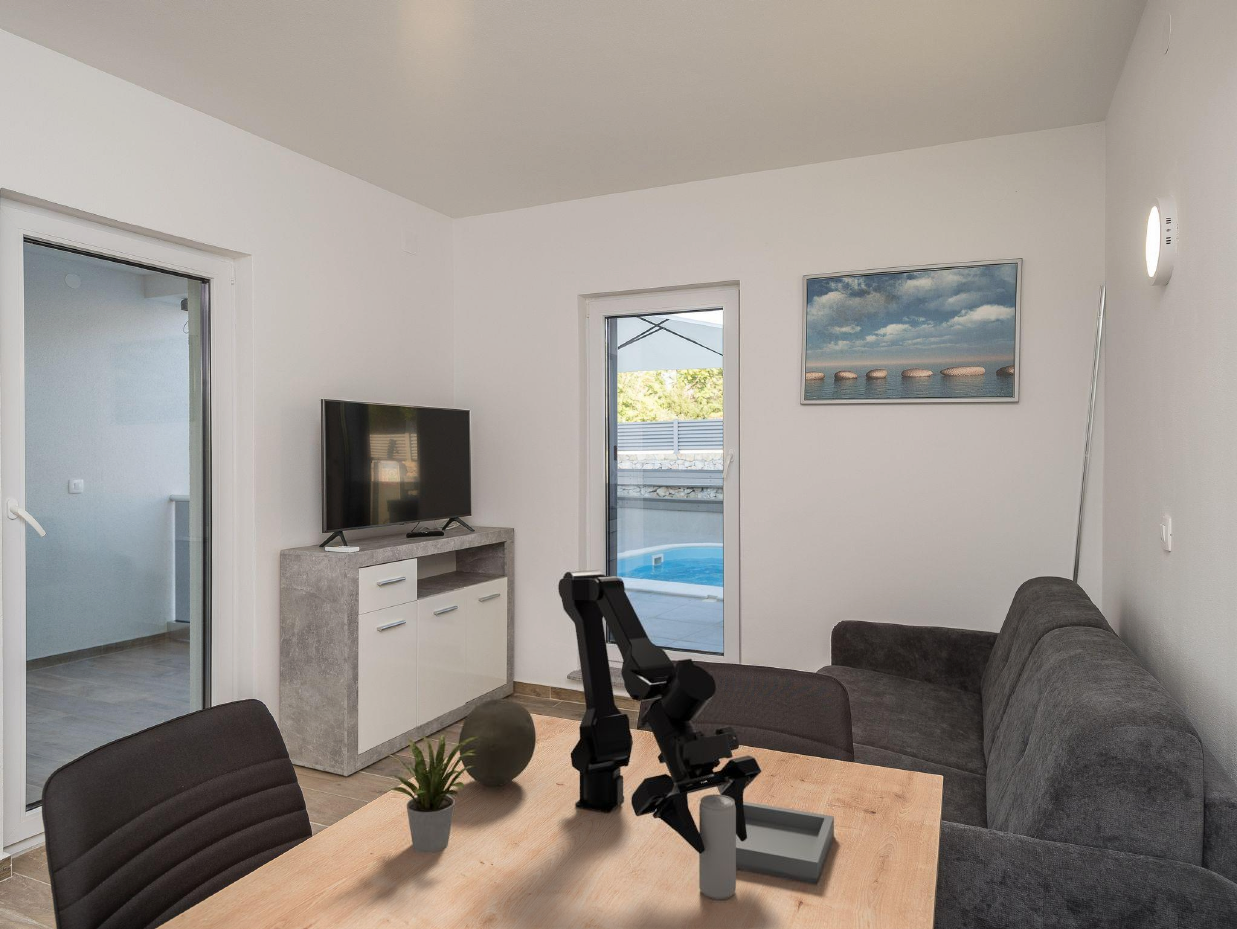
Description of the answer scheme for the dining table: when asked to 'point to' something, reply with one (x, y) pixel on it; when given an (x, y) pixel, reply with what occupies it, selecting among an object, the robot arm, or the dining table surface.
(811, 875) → the tray
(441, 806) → the house plant
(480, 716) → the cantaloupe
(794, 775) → the dining table surface
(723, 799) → the beverage can
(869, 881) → the dining table surface
